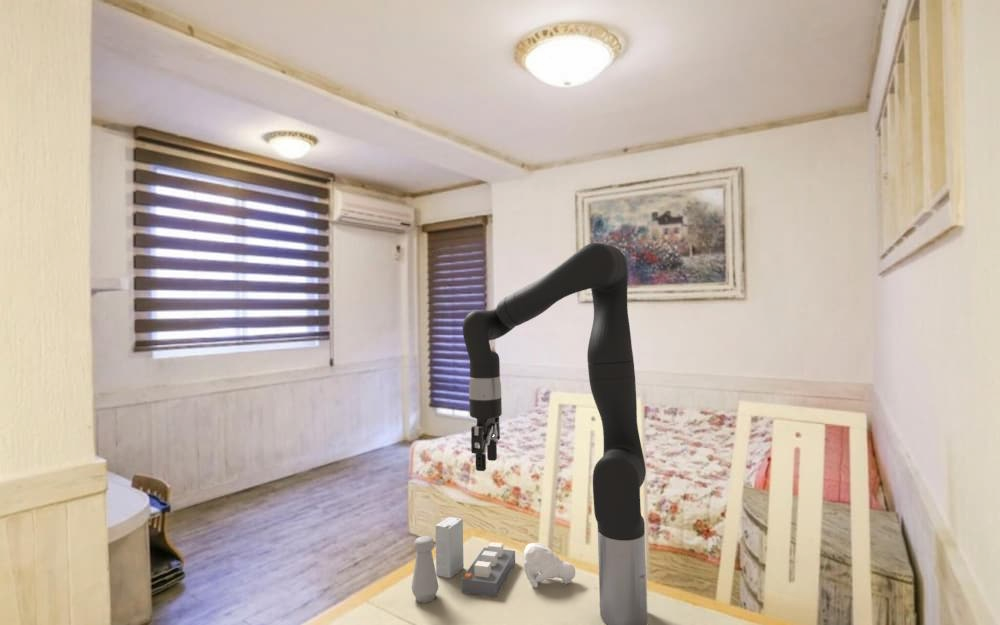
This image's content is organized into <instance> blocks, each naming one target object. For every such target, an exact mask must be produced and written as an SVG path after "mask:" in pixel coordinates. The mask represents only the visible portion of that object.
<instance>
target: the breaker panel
mask: <svg viewBox="0 0 1000 625" xmlns="http://www.w3.org/2000/svg"><path fill="white" fill-rule="evenodd" d="M484 551H492V552H497V559H498V562H497V564H496V566H495V567H493V566H491V562H484V561H482V557H481V555H482V553H483V552H484ZM515 564H516V550H511V549H504V543H502V542H493V541H491V542H490V543H489V544H488V545H487V547H483V549H482V550H481V551H480V553H479V554H478V556H477V557H476V558H475V560H474V561H473V562H472V563H471V565H470V567H469V568H468V569H467V570H466V572H465V574H464V575H463V576H462V578H461V593H464V594H470V595H478V596H484V597H485V596H487V597H494V598H497V597H498V595H499V593H500V591H501V590H502V588H503V586H504V584H505V583H504V582H507V578H508V577H509V575H510V574H509V573H511V572H512V570H513V568H514V566H515ZM511 569H512V570H511ZM510 571H511V572H510Z"/></svg>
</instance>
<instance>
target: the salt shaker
mask: <svg viewBox="0 0 1000 625" xmlns="http://www.w3.org/2000/svg"><path fill="white" fill-rule="evenodd" d="M413 546H414V547H413V548H414V551H415V552H416V556H415V560H414V561H415V562H414V567H413V568H414V569H413V576H412V581H411V582H412V583H411V591H412V594H413V596H414V597H415V599H416V601H417V602H418V603H424V604H428V603H430V602H432V601H434V600H435V598H436V594H437V592H438V590H439V582H438V579H437V575H436V568H435V567H436V565H435V563H434V558H433V553H432V551H433V550H434V548H435V542H434V538H432V537H431V536H429V535H421V536H418V537H417V538H416V539H415V540H414V542H413Z"/></svg>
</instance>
